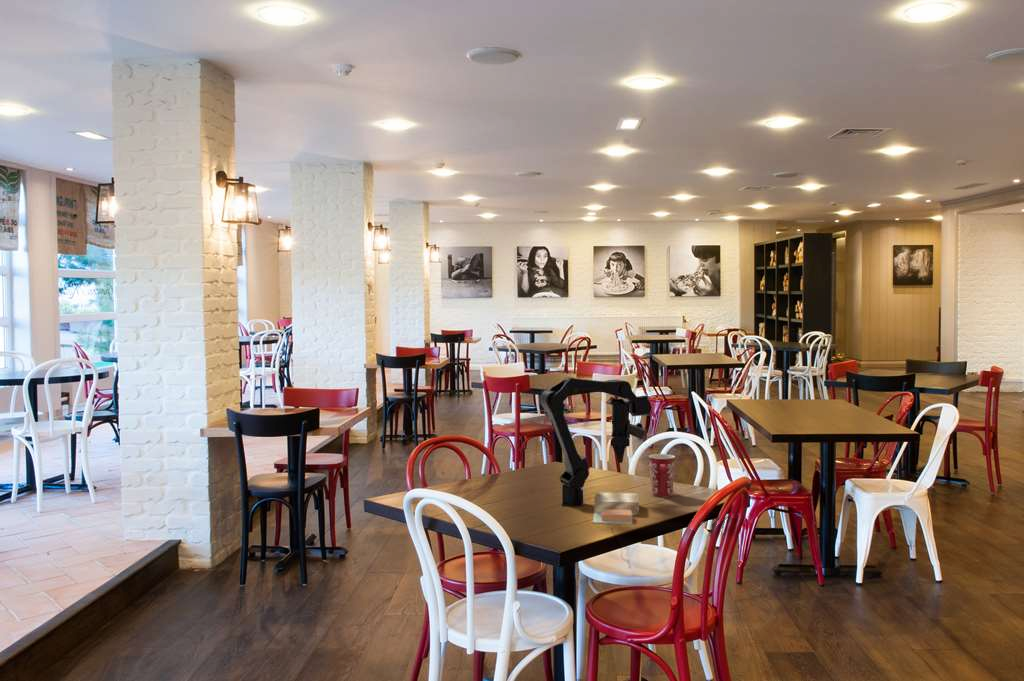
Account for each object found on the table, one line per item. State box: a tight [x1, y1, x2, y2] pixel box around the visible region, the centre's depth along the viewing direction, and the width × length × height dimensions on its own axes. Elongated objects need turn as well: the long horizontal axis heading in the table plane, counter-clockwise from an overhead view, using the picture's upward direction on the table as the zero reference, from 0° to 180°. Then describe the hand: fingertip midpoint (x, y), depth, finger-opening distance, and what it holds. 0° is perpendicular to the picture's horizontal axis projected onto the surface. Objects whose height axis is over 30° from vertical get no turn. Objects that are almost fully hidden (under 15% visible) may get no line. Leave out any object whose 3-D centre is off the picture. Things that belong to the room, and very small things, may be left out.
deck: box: [593, 491, 640, 516], centre depth 272 cm, size 14×12×4 cm
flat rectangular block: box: [602, 509, 631, 522], centre depth 260 cm, size 9×6×2 cm, turn 82°
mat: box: [592, 513, 634, 525], centre depth 261 cm, size 12×11×1 cm
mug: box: [648, 453, 676, 498], centre depth 289 cm, size 13×9×14 cm
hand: (620, 462), depth 285 cm, fingers closed
